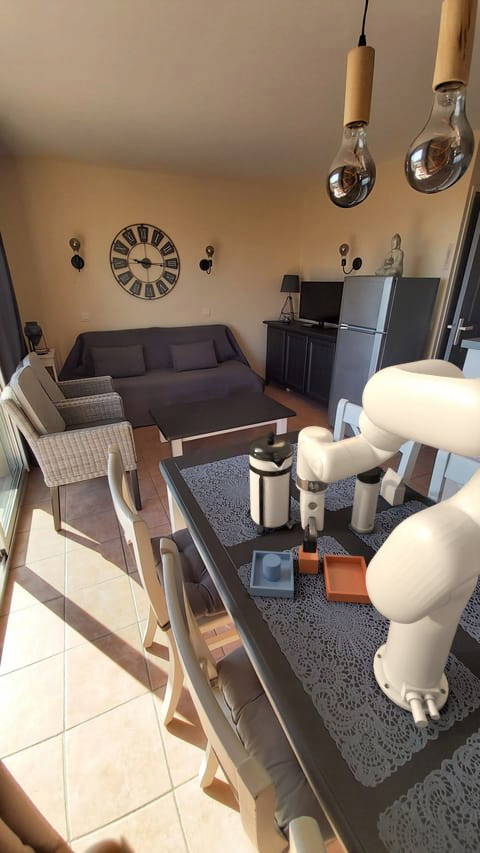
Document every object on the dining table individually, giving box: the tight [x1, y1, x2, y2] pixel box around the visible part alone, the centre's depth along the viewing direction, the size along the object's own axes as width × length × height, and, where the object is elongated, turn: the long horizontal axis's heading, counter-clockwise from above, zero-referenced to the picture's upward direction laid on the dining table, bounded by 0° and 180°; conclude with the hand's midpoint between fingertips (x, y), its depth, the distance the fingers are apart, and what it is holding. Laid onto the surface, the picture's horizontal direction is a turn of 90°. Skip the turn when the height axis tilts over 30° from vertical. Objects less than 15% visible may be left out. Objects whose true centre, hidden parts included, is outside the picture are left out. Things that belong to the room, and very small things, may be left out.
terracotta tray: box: [321, 553, 373, 605], centre depth 88 cm, size 12×10×2 cm
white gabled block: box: [379, 467, 406, 507], centre depth 117 cm, size 4×7×10 cm, turn 13°
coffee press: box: [247, 430, 295, 536], centre depth 105 cm, size 17×16×30 cm
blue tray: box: [249, 550, 295, 599], centre depth 90 cm, size 12×10×2 cm
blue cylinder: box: [263, 554, 281, 582], centre depth 89 cm, size 4×4×5 cm
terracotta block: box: [297, 545, 320, 575], centre depth 92 cm, size 5×5×5 cm
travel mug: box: [350, 465, 384, 534], centre depth 102 cm, size 6×7×20 cm
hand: (308, 537), depth 90 cm, fingers open, 9 cm apart
